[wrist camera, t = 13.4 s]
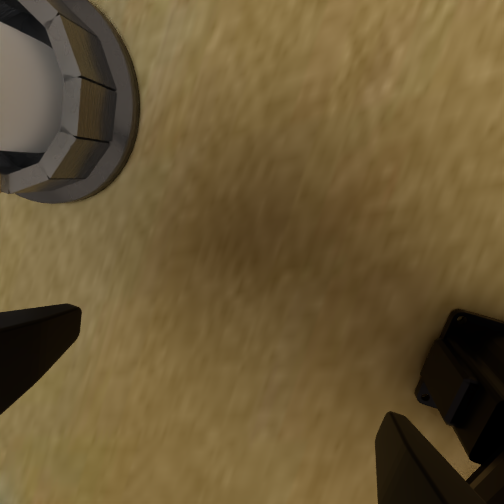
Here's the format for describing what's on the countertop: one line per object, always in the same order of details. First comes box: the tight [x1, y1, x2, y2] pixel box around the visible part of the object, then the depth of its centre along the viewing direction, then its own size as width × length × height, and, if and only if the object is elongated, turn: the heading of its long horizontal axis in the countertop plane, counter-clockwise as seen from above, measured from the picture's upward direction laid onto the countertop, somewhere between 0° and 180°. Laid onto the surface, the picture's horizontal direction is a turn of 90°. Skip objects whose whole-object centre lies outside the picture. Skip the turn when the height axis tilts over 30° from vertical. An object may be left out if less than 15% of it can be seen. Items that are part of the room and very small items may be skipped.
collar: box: [0, 0, 140, 203], centre depth 19 cm, size 13×13×5 cm
